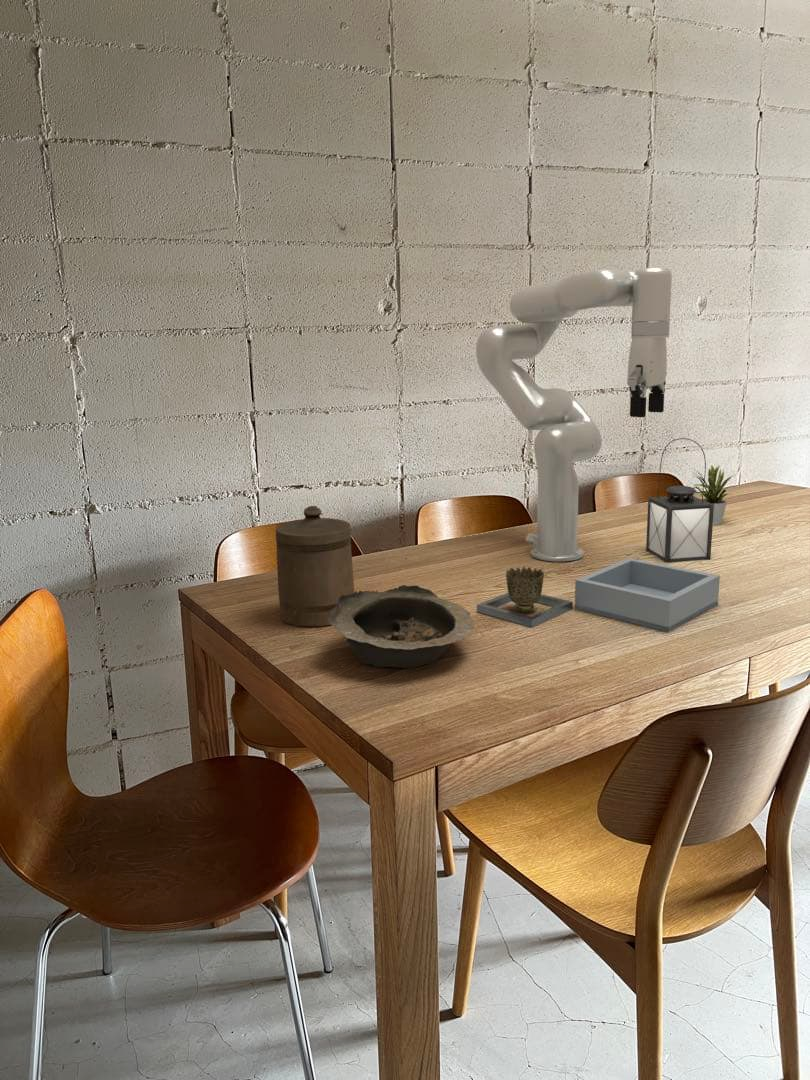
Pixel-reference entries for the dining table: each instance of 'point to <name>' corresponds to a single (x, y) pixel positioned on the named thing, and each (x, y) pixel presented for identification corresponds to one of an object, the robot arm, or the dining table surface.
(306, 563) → the wooden container
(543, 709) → the dining table surface
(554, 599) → the square metal frame
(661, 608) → the bin
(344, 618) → the stone bowl
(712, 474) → the house plant
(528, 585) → the dark bronze rounded piece
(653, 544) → the lantern
